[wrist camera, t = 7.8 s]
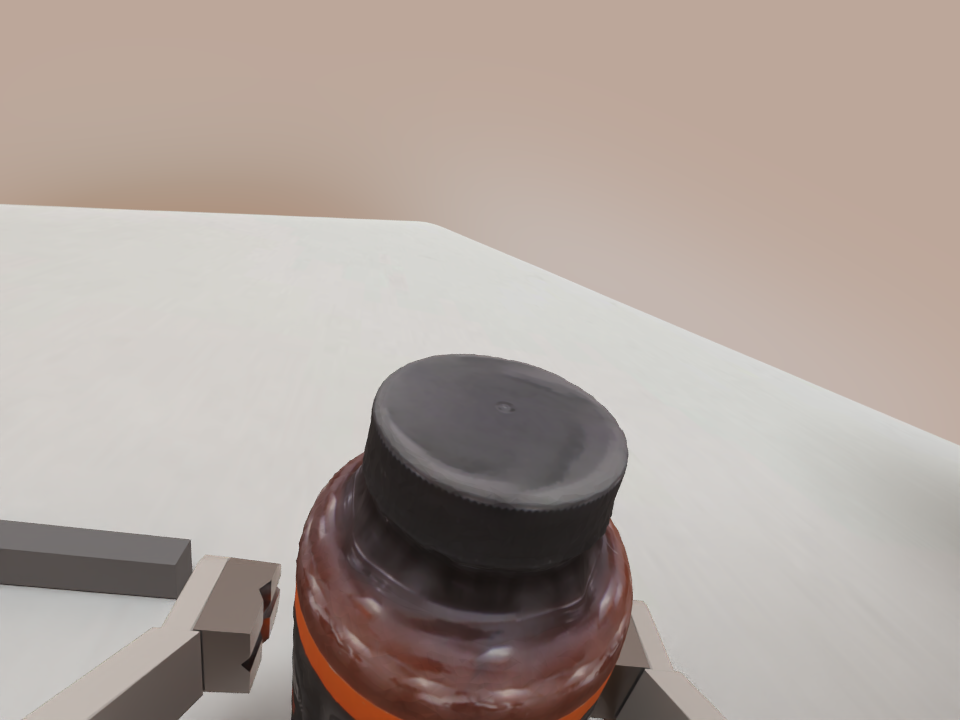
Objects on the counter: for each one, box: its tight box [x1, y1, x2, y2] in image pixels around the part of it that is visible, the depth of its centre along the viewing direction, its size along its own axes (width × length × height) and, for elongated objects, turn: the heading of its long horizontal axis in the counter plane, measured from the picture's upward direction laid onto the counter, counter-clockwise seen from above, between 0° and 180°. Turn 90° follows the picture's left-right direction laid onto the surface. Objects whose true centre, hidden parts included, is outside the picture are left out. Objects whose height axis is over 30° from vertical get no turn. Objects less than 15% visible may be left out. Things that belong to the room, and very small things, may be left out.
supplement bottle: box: [291, 354, 633, 720], centre depth 10 cm, size 6×6×11 cm
